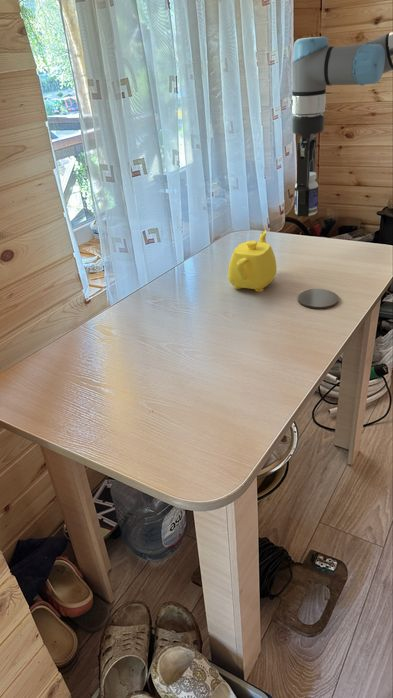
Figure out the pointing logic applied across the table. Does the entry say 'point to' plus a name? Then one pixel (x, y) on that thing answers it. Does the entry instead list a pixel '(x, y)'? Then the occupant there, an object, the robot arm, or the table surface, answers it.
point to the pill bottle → (310, 195)
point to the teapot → (252, 265)
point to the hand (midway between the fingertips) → (305, 211)
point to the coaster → (318, 299)
